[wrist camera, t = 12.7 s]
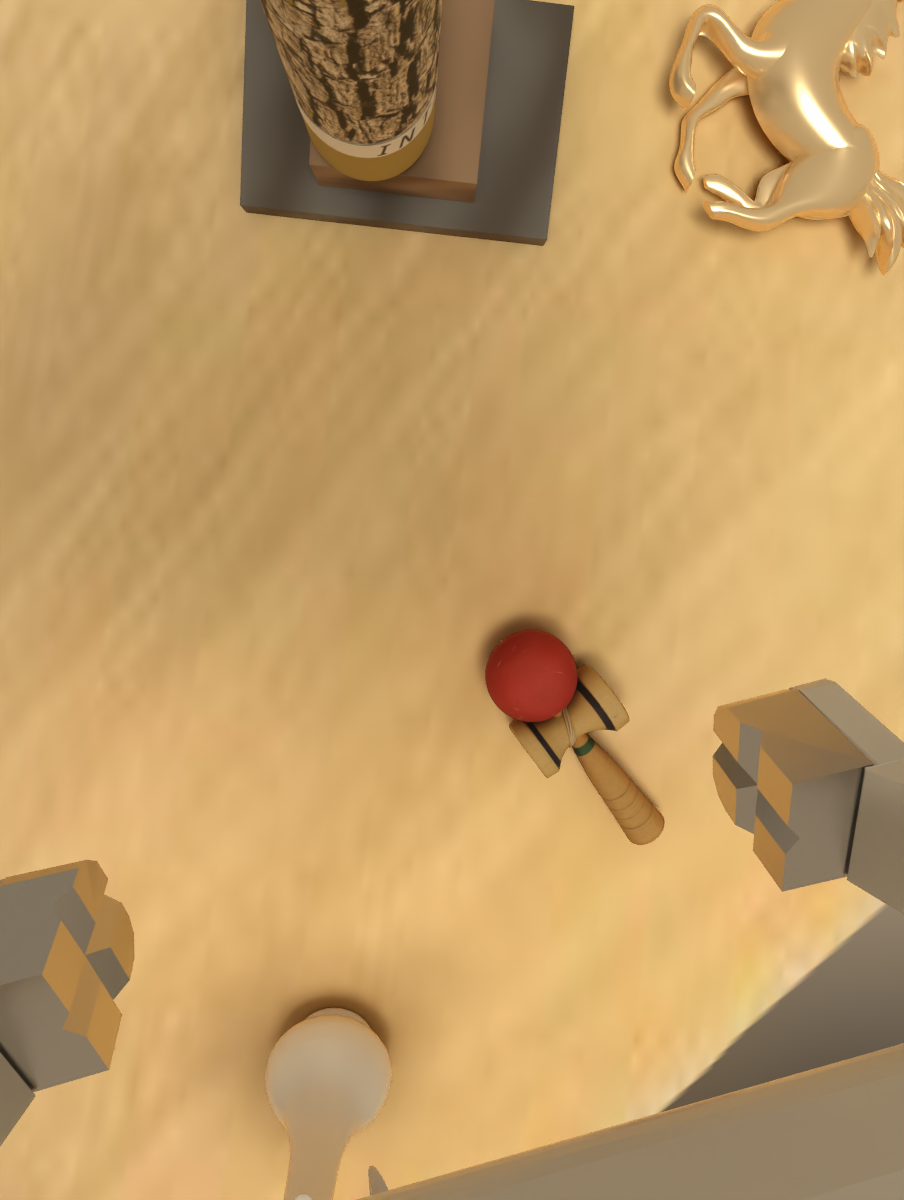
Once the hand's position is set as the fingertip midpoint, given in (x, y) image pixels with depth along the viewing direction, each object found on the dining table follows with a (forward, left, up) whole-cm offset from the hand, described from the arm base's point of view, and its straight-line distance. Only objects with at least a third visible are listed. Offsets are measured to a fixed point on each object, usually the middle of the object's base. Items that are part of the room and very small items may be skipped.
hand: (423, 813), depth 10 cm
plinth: (-4, +22, -40) cm, 46 cm away
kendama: (+11, -15, -40) cm, 44 cm away
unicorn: (+13, +20, -38) cm, 45 cm away
